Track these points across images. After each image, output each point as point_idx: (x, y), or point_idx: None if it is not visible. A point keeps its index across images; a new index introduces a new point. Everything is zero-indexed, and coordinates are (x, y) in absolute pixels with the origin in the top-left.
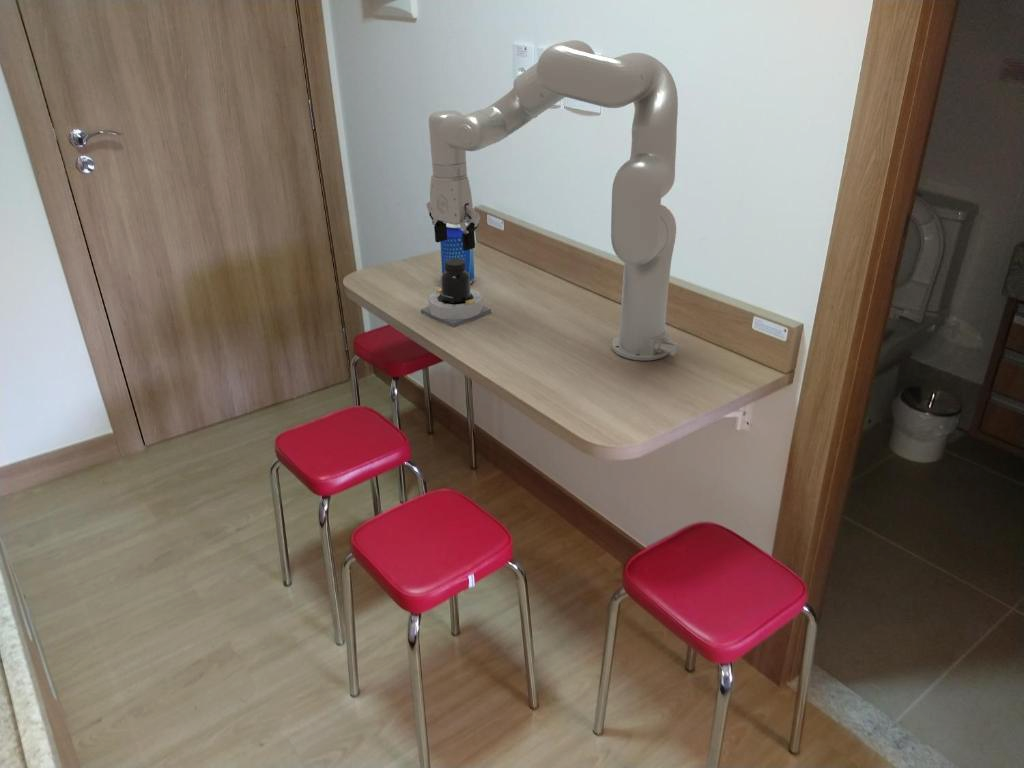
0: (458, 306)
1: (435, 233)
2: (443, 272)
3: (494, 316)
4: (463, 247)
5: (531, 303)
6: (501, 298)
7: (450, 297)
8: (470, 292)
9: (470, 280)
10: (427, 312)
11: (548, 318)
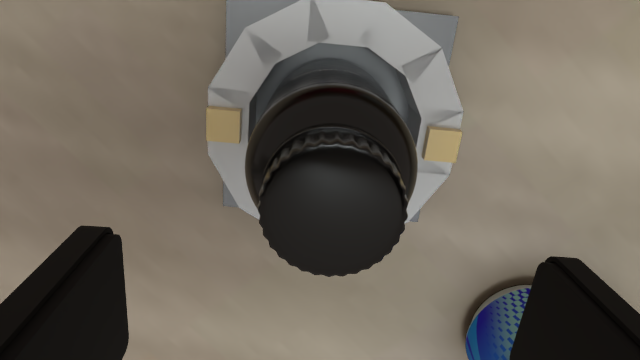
0: (241, 60)
1: (626, 314)
2: None
3: (192, 182)
4: (88, 238)
5: (183, 334)
6: (293, 309)
7: (303, 74)
8: None
9: (466, 341)
10: (410, 11)
11: None
